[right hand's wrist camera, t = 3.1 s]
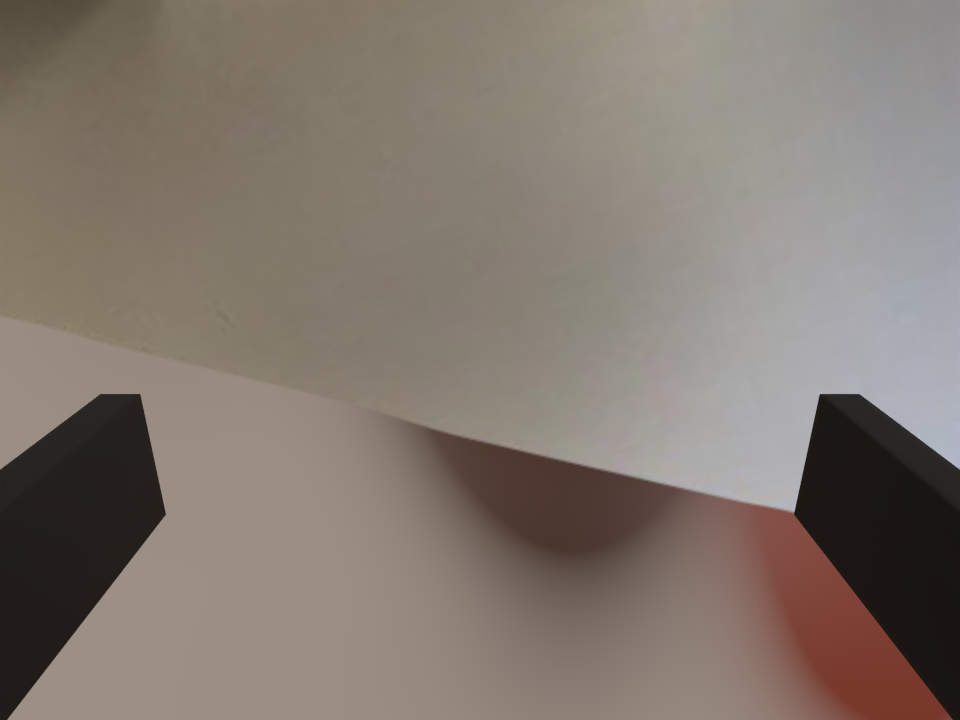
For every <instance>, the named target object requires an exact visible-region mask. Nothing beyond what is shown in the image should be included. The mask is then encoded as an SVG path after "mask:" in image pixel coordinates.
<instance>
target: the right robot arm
mask: <svg viewBox="0 0 960 720" xmlns="http://www.w3.org/2000/svg"><path fill="white" fill-rule="evenodd" d="M165 515H166V513H165V508H164V504H163V499H162V494H161V490H160V485H159V480H158V475H157V471H156V466H155V461H154V457H153V452H152V447H151V443H150V438H149V433H148V428H147V424H146V419H145V415H144V410H143V405H142V401H141V396H140V394H100V395H99V396H98V397H96V398H95V399H94V400H92V401H91V402H90V403H88V404H87V405H86V406H84V407H83V408H82V409H80V410H79V411H78V412H76V413H75V414H74V415H72V416H71V417H70V418H68V419H67V420H66V421H64V422H63V423H62V424H60V425H59V426H58V427H56V428H55V429H54V430H52V431H51V432H50V433H48V434H47V435H46V436H44V437H43V438H42V439H40V440H39V441H38V442H36V443H35V444H34V445H33V446H31V447H30V448H29V449H27V450H26V451H25V452H23V453H22V454H21V455H19V456H18V457H17V458H15V459H14V460H13V461H11V462H10V463H9V464H7V465H6V466H5V467H3V468H2V469H1V470H0V720H7V719H8V718H9V716H10V715H11V714H12V713H13V711H14V710H15V709H16V707H17V706H18V705H19V704H20V702H21V701H22V700H23V698H24V697H25V696H26V695H27V693H28V692H29V691H30V689H31V688H32V687H33V685H34V684H35V683H36V682H37V680H38V679H39V678H40V676H41V675H42V674H43V673H44V671H45V670H46V669H47V667H48V666H49V665H50V664H51V662H52V661H53V660H54V658H55V657H56V656H57V654H58V653H59V652H60V651H61V649H62V648H63V647H64V645H65V644H66V643H67V642H68V640H69V639H70V638H71V636H72V635H73V634H74V633H75V631H76V630H77V629H78V627H79V626H80V625H81V623H82V622H83V621H84V620H85V618H86V617H87V616H88V614H89V613H90V612H91V611H92V609H93V608H94V607H95V605H96V604H97V603H98V602H99V600H100V599H101V598H102V596H103V595H104V594H105V592H106V591H107V590H108V589H109V587H110V586H111V585H112V583H113V582H114V581H115V580H116V578H117V577H118V576H119V574H120V573H121V572H122V570H123V569H124V568H125V567H126V565H127V564H128V563H129V561H130V560H131V559H132V558H133V556H134V555H135V554H136V552H137V551H138V550H139V548H140V547H141V546H142V545H143V543H144V542H145V541H146V539H147V538H148V537H149V536H150V534H151V533H152V532H153V530H154V529H155V528H156V526H157V525H158V524H159V523H160V521H161V520H162V519H163V518H164V516H165ZM794 515H795V516H796V518H797V519H798V520H799V521H800V523H801V524H802V525H803V527H804V528H805V529H806V530H807V532H808V533H809V534H810V536H811V537H812V538H813V539H814V541H815V542H816V543H817V545H818V546H819V547H820V549H821V550H822V551H823V552H824V554H825V555H826V556H827V558H828V559H829V560H830V561H831V563H832V564H833V565H834V567H835V568H836V569H837V570H838V572H839V573H840V574H841V576H842V577H843V578H844V580H845V581H846V582H847V583H848V585H849V586H850V587H851V589H852V590H853V591H854V592H855V594H856V595H857V596H858V598H859V599H860V600H861V602H862V603H863V604H864V605H865V607H866V608H867V609H868V611H869V612H870V613H871V614H872V616H873V617H874V618H875V620H876V621H877V622H878V623H879V625H880V626H881V627H882V628H883V630H884V631H885V633H886V634H887V635H888V636H889V638H890V639H891V640H892V642H893V643H894V644H895V645H896V647H897V648H898V649H899V651H900V652H901V653H902V654H903V656H904V657H905V658H906V660H907V661H908V662H909V664H910V665H911V666H912V667H913V669H914V670H915V671H916V673H917V674H918V675H919V676H920V678H921V679H922V680H923V681H924V683H925V684H926V686H927V687H928V688H929V689H930V691H931V692H932V693H933V695H934V696H935V697H936V698H937V700H938V701H939V702H940V704H941V705H942V706H943V707H944V709H945V710H946V711H947V713H948V714H949V715H950V717H951V718H952V719H953V720H960V470H959V469H958V468H957V467H955V466H954V465H953V464H951V463H950V462H949V461H947V460H946V459H945V458H943V457H942V456H941V455H939V454H938V453H937V452H936V451H934V450H933V449H932V448H930V447H929V446H928V445H926V444H925V443H924V442H922V441H921V440H920V439H918V438H917V437H916V436H914V435H913V434H912V433H910V432H909V431H908V430H906V429H905V428H904V427H902V426H901V425H900V424H898V423H897V422H896V421H894V420H893V419H892V418H890V417H889V416H888V415H886V414H885V413H884V412H882V411H881V410H880V409H878V408H877V407H876V406H874V405H873V404H872V403H870V402H869V401H868V400H866V399H865V398H864V397H862V396H861V395H860V394H820V396H819V400H818V405H817V410H816V414H815V419H814V424H813V428H812V433H811V438H810V443H809V447H808V452H807V457H806V461H805V466H804V471H803V475H802V480H801V485H800V489H799V494H798V499H797V504H796V508H795V513H794Z"/></svg>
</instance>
